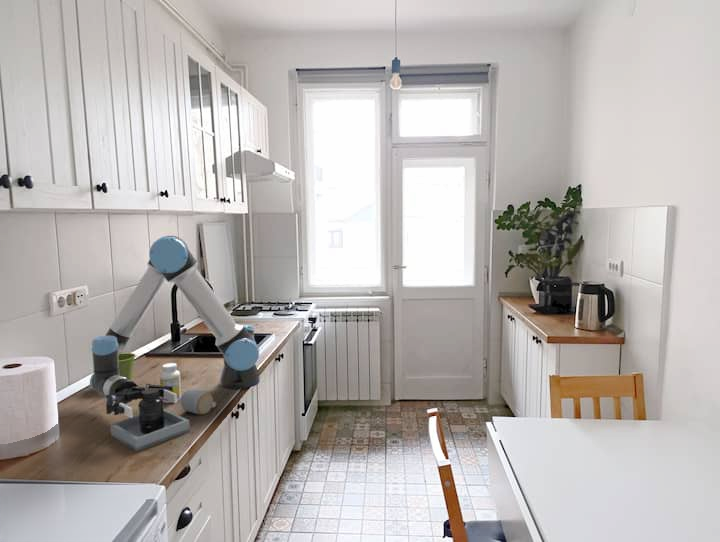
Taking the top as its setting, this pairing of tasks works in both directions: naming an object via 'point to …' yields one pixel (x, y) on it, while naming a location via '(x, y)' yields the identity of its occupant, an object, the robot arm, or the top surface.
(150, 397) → the supplement bottle
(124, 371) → the plant pot
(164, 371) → the supplement bottle
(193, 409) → the ceramic mug
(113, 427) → the tray
